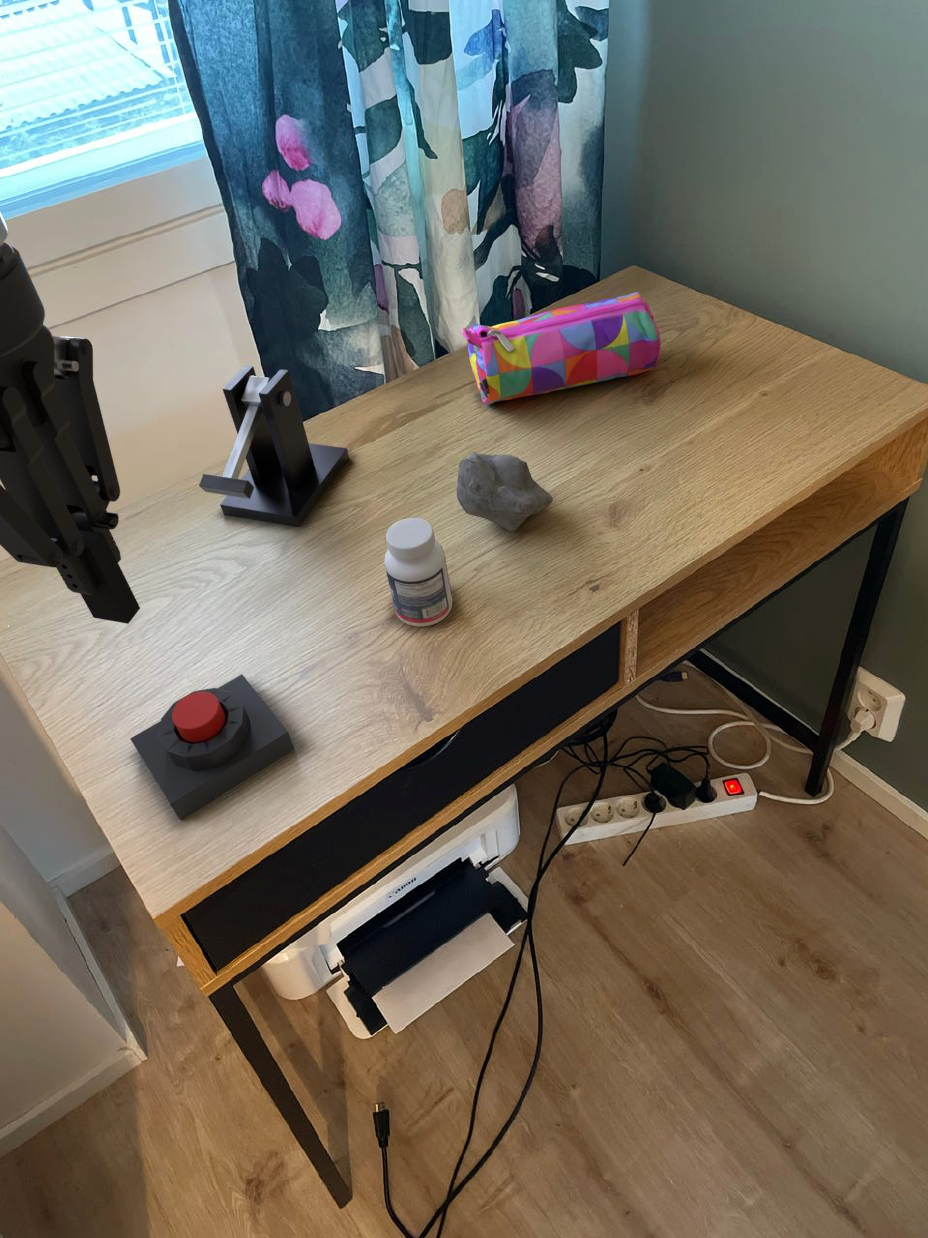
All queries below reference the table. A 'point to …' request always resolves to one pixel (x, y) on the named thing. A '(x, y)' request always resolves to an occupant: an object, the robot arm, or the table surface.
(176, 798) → the button box
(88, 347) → the robot arm
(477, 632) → the table surface
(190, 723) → the button
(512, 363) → the pencil case
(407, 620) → the pill bottle
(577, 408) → the table surface
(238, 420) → the black lever stand
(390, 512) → the table surface
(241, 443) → the lever
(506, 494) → the fossil
